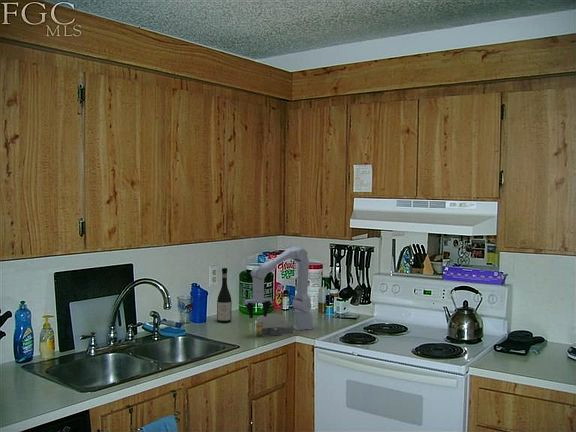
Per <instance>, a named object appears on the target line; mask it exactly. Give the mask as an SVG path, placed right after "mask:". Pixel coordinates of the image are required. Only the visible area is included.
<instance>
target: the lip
mask: <svg viewBox="0 0 576 432" xmlns="http://www.w3.org/2000/svg"><path fill="white" fill-rule="evenodd" d="M293 333H294V327H293V326H287V327H270V328H262V335H269V336H270V337H274V336H276V337H277V336H282V335H283V334H293Z"/></svg>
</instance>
